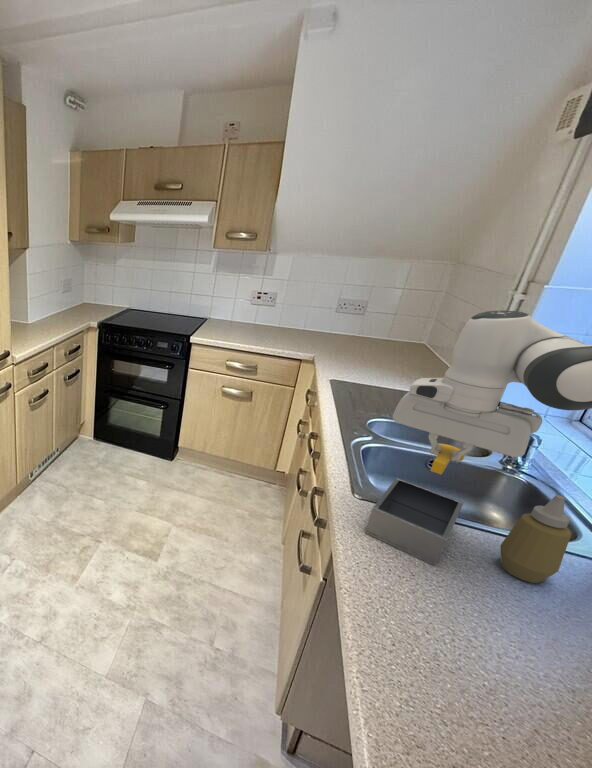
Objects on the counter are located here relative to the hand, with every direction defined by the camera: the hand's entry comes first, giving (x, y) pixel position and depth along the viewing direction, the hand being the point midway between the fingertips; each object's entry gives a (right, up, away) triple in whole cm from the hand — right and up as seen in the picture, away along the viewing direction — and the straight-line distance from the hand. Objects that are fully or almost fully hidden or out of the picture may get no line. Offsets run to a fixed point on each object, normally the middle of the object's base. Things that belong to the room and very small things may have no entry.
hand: (444, 456), depth 84 cm
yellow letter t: (+1, -1, +1) cm, 2 cm away
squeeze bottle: (+13, -23, -2) cm, 26 cm away
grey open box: (0, -18, +9) cm, 20 cm away
